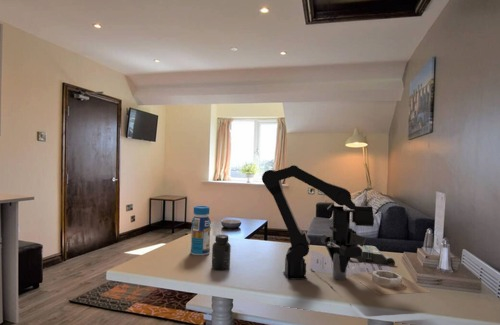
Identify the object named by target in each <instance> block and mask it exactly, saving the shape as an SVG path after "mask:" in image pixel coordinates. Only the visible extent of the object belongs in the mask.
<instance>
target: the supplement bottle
mask: <svg viewBox="0 0 500 325" xmlns="http://www.w3.org/2000/svg"><path fill="white" fill-rule="evenodd" d="M214 240H215V242H214V243H212V249H211V251H212V252H211V268H212V269H213V270H214V271H220V272H224V271H227V270H229V269H230V267H231V250H232V249H231V248H232V246H231V243H229V235H227V234H217V235H215V239H214Z"/></svg>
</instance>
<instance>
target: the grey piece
mask: <svg viewBox="0 0 500 325" xmlns="http://www.w3.org/2000/svg"><path fill="white" fill-rule="evenodd" d="M357 246H358V247H360V248H361V249H362V256H357V257H351V258H350V259H354V260H356V261H358V262H359V263H360V264H361V263H364V264H365V263H374V264H381V265H387V266H394V265H395V264H396V261H395V259H394V258H392V257H390V256H389V255H386V254H384V253H383V252H381V251H380V250H379V249H378V247H376V246H374V245H363V247H362V246H360V245H358V244H357Z"/></svg>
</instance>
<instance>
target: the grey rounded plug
mask: <svg viewBox="0 0 500 325" xmlns="http://www.w3.org/2000/svg"><path fill="white" fill-rule="evenodd" d="M332 278H333V279H335V280H338V281H339V280H340V281H343V280H344V281H345V280H347V269H346V270H345V272H343V273H342V272H341V270H340V266H339V262H338V258H337V255H336V252H335V253H333V262H332Z"/></svg>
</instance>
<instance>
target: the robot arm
mask: <svg viewBox="0 0 500 325" xmlns="http://www.w3.org/2000/svg"><path fill="white" fill-rule="evenodd" d="M292 177H293V178H295V179H297V180H299V181H301V182H302V183H304V184H306V185H308V186H310V187H312V188H313V189H315V190H318V191H320V192H321V193H323V194H324V195H325V196H327V197H328V198H329V199H330V200H332V201H333V202H334V203H335V204H336V205H334V203H331V204H329V206H328V207H327V208H326V209H327V211H328V212H332V222H331V223H332V224H331V225H329V230H331V234H323V235H322V236H320V238H321V240H320V242H321V243H322V244H323V245H324V247H325V248H326V251H327V252H328V254H329V257H330V260H331V261H332V263H333V253H335V252H336V255H337V258H338V262H339V266H340V270H341V272H342V273H343V272H345V270H346V271H347V267H348V264H349V262H350V260H351V259H352V258H351V257H357V256H362V249H361V248H360V247H358V245H360V246H362V247H363V245H364V244H365V242H366V237H363V236H361V235H359V234H357V231H356V230H355V229H352V228H351V227H350V223H354V226H355V227H356V226H357V227H360V226H361V227H371V228H372V227H374V223H375V217H374V210H373V206H371V205H365V206H364V205H356V203H355V202H354V201H352V194H351V192H350V191H349V190H348V189H347V188H345V187H342V186H339V185H336V184H332V183H329V182H327V181H324V180H323V179H321V178H319V177H317V176H315V175H314V174H312V173H309V172H307V171H306V170H304V169H302V168H300V167H299V166H298V165H295V164H294V165H290V166H288V167H285V168H281V169H278V170H276V169H275V170H274V169H269V170H266V171H264V172H263V173H262V176H261V181H262V183H263V184H264V186H265V187H266V190H267V191H268V192H269V193H270V194H271V196H272V197H273V199H274V201H275V204H276V206H277V208H278V212H279V213H280V215H281V219H282V221H283V222H284V224H285V227H286V229H287V232H288V235H289V236H288V237H289V241H290V247H288V248H287V251H286V255H285V259H284V261H285V262H284V271H283V272H282V273H283V275H284V276H286V278H287V279H288V280H301V279H303V280H304V279H307V276H306V275H307V263H306V259H305V257H306V256H308V254H309V252H310V247H311V246H310V245H311V239H310V238H309V236H308V234H307V231H306V229H304V230H302V229H301V228H300V227H299V224H298V222H297V220H296V218H295V215H294V213H293V211H292V208H291V206H290V204H289V202H288V199H287V197H286V195H285V193H284V189H283V182H282V180H286V179H289V178H292ZM344 206H345V207H346V208H348V209H345V208H344ZM350 221H351V222H350ZM326 244H327V245H326ZM356 244H357V245H356Z"/></svg>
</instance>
